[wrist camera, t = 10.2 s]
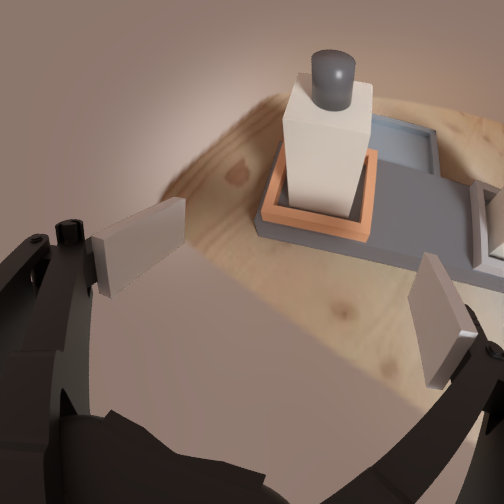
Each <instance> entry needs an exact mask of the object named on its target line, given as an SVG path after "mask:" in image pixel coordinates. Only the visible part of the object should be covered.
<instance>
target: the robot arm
mask: <svg viewBox="0 0 504 504" xmlns="http://www.w3.org/2000/svg"><path fill="white" fill-rule="evenodd" d="M185 205H186V199H185V198H179V197H172V198H170V199H168V200H165V201H163V202H161V203H159V204H156V205H154V206H152V207H150V208H147V209H145V210H143V211H141V212H139V213H137V214H135V215H132V216H130V217H128V218H126V219H124V220H122V221H120V222H118V223H116V224H114V225H112V226H110V227H108V228H106V229H104V230H102V231H100V232H98V233H96V234H94V235H92V236H91V237H90V238H88V239H86V240H85V237H84V229H83V221H81V220H77V219H70V220H65V221H62V222H60V223H58V224H56V226H55V229H56V236H57V243H58V244H57V246H55V245H50V243H49V237H48V235H46V234H34V235H32V236H31V237H28V238H27V239H25V240H24V241H23V242H22V243H21V244H20V245H19V246H18V247H17V248H16V249H15V250H14V251H13V252H12V253H11V254H10V255H9V256H8V257H7V258H6V259H5V260H3V261H2V263H1V264H0V504H290V503H289V502H288V501H287V500H286V499H284V498H283V497H282V496H281V495H280V494H278V493H277V492H275V491H274V490H272V489H271V488H269V487H267V486H265V485H264V484H263V482H264V479H265V476H266V475H265V474H261V473H257V472H254V471H251V470H247V469H244V468H241V467H238V466H235V465H232V464H229V463H226V462H223V461H215V460H208V459H202V458H196V457H190V456H184V455H180V454H177V453H175V452H173V451H172V450H171V449H169V448H168V447H166V446H165V445H164V444H163V443H162V442H160V441H159V440H158V439H157V438H155V437H154V436H153V435H152V434H151V433H149V432H148V431H147V430H146V429H145V428H144V427H142V426H140V425H138V424H136V423H134V422H132V421H130V420H128V419H127V418H125V417H123V416H121V415H120V414H118V413H116V412H114V411H113V410H110V412H109V413H108V414H107V415H106V416H105V418H104V417H99V416H94V415H90V409H89V339H90V321H91V307H92V297H93V291H92V285H93V284H94V283H96V282H97V283H98V289H99V293H100V294H102V295H104V296H107V297H109V298H113V297H114V296H115V295H117V294H118V293H119V292H120V291H122V290H123V289H124V288H126V287H127V286H128V285H130V284H131V283H132V282H133V281H135V280H136V279H137V278H139V277H140V276H141V275H143V274H144V273H145V272H146V271H148V270H149V269H151V268H152V267H153V266H154V265H156V264H157V263H159V262H160V261H161V260H163V259H164V258H165V257H166V256H168V255H169V254H171V253H172V252H173V251H175V250H176V249H177V248H179V247H180V246H182V245H183V244H184V236H185ZM31 277H32V281H33V282H32V281H31ZM408 301H409V305H410V309H411V313H412V317H413V322H414V326H415V330H416V335H417V340H418V344H419V349H420V354H421V360H422V365H423V371H424V377H425V383H426V388H432V389H440V390H443V388H444V387H445V385H446V384H447V383H448V381H449V380H450V379H451V383H452V384H451V385H450V386H449V387H448V389H447V390H446V391H445V392H444V393H443V395H442V396H441V397H440V398H439V399H438V401H437V402H436V403H435V404H434V405H433V406H432V408H431V409H430V410H429V411H428V412H427V413H426V414H425V415H424V417H423V418H422V419H421V420H420V421H419V422H418V423H417V424H416V425H415V426H414V427H413V428H412V429H411V430H410V431H409V432H408V433H407V434H406V435H405V437H403V438H402V439H401V440H400V441H399V442H398V443H397V444H396V445H395V446H394V447H393V448H392V449H391V450H390V451H389V452H388V453H387V454H385V455H384V456H383V457H382V458H381V459H380V460H379V461H377V462H376V463H375V464H374V465H373V466H371V467H369V468H368V469H367V470H365V471H364V472H362V473H361V474H360V475H359V476H357V477H356V478H355V479H354V480H352V481H351V482H350V483H348V484H347V485H346V486H344V487H343V488H342V489H340V490H339V491H338V492H336V493H335V494H333V495H332V496H331V497H329V498H328V499H326V500H325V501H323V502H322V503H320V504H415V503H416V502H417V500H418V499H419V498H420V497H421V496H422V495H423V493H424V492H425V491H426V490H427V489H428V488H429V486H430V485H431V484H432V483H433V482H434V480H435V479H436V478H437V477H438V475H439V474H440V473H441V471H442V470H443V469H444V468H445V466H446V465H447V464H448V462H449V461H450V459H451V458H452V457H453V455H454V454H455V452H456V451H457V450H458V448H459V447H460V445H461V443H462V442H463V441H464V439H465V438H466V436H467V434H468V433H469V431H470V430H471V428H472V426H473V425H474V423H475V421H476V420H477V418H478V416H479V415H480V413H481V411H484V417H483V421H482V425H481V429H480V433H479V437H478V441H477V444H476V448H475V451H474V455H473V458H472V461H471V464H470V467H469V470H468V473H467V476H466V478H465V481H464V484H463V486H462V489H461V491H460V494H459V496H458V499H457V501H456V504H504V350H503V349H502V348H501V347H500V346H499V345H498V344H496V343H494V342H492V341H488V340H487V338H486V335H485V333H484V331H483V329H482V327H481V326H480V323H479V321H478V320H477V317H476V315H475V313H474V311H473V310H472V309H471V308H470V307H469V306H468V305H466V304H464V303H463V301H462V299H461V297H460V295H459V293H458V291H457V289H456V288H455V286H454V284H453V282H452V280H451V279H450V277H449V275H448V273H447V271H446V270H445V268H444V266H443V265H442V263H441V261H440V259H439V258H438V256H437V255H434V254H431V253H427V252H424V254H423V257H422V260H421V263H420V266H419V269H418V272H417V274H416V277H415V280H414V282H413V285H412V288H411V290H410V293H409V295H408Z"/></svg>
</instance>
